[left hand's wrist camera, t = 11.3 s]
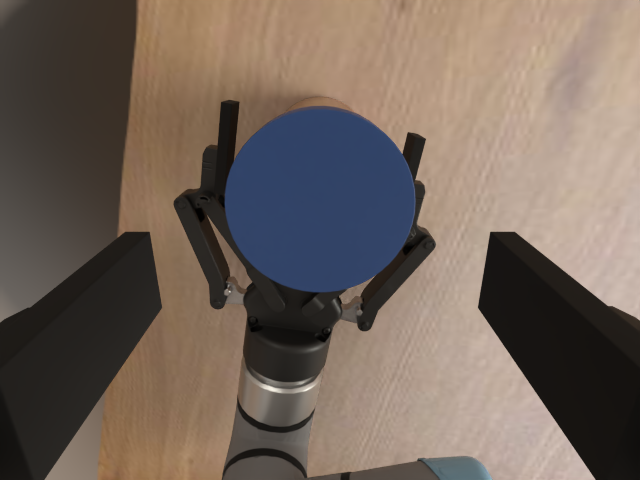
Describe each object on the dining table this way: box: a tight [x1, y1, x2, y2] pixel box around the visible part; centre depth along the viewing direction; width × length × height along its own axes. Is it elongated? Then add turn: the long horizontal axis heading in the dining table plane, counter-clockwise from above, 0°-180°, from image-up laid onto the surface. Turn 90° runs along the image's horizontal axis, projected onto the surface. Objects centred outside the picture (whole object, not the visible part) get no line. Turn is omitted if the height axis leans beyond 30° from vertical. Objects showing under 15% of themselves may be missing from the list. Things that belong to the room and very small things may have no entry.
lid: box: [225, 106, 415, 292], centre depth 20 cm, size 9×9×2 cm
